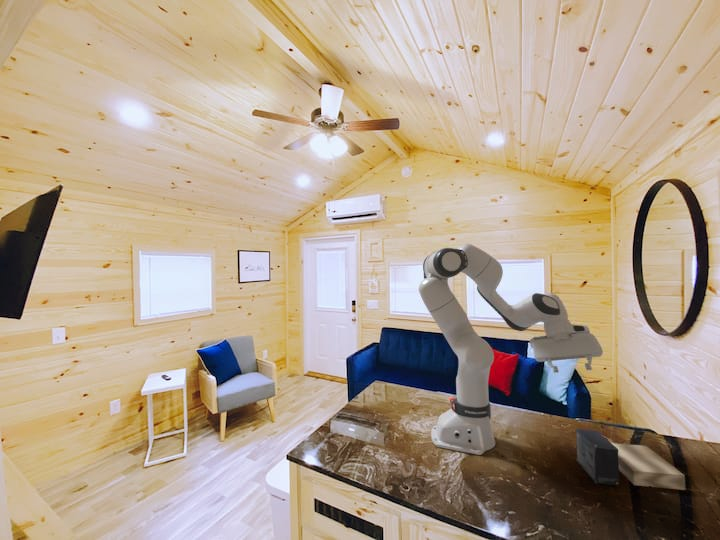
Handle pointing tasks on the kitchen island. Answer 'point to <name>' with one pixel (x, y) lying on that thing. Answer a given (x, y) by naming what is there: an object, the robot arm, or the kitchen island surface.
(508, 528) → the kitchen island surface
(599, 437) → the small box
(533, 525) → the kitchen island surface
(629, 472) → the plinth
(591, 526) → the kitchen island surface
